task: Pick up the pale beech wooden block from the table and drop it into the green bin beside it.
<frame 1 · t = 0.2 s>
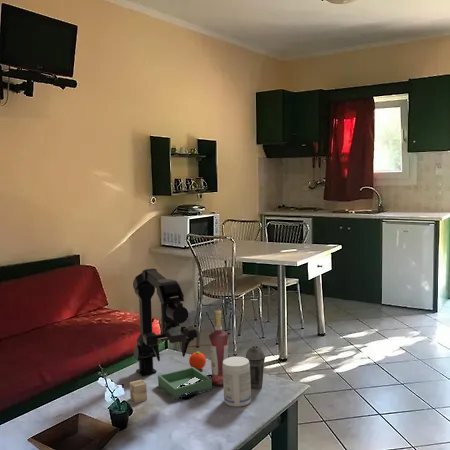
hand: (171, 358, 184), 14 cm above the table, tool pointing down, fingers open, 9 cm apart
green bin: (184, 387, 193), on the table
clementine: (198, 369, 212), on the table
beverage cup: (256, 387, 192), on the table
liquor: (220, 383, 196), on the table
supplement tub: (237, 402, 180), on the table
beech block: (138, 399, 185), on the table
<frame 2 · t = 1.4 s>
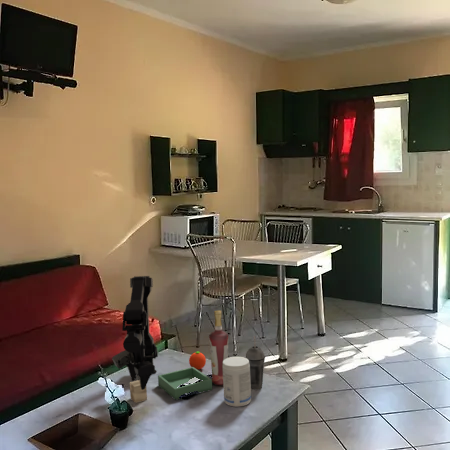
hand: (138, 384, 184), 5 cm above the table, tool pointing down, fingers open, 9 cm apart
nothing on the table moved.
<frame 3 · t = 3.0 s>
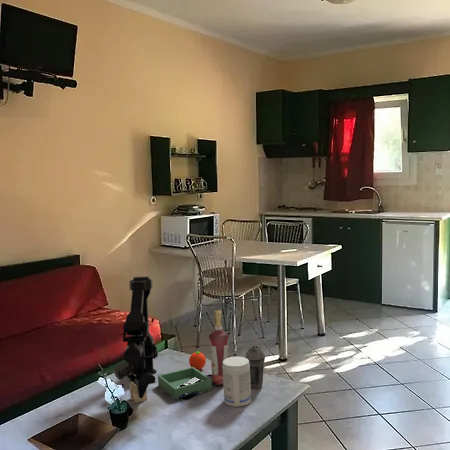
hand: (138, 395, 185), 1 cm above the table, tool pointing down, fingers closed on beech block, 4 cm apart
beech block: (138, 398, 185), on the table, touching gripper
everything else where it was.
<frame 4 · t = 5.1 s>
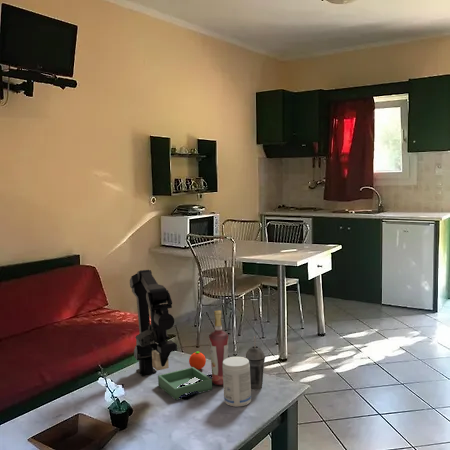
hand: (160, 363, 188), 11 cm above the table, tool pointing down, fingers closed on beech block, 4 cm apart
beech block: (160, 367, 188), point 10 cm above the table, touching gripper
everything else where it was.
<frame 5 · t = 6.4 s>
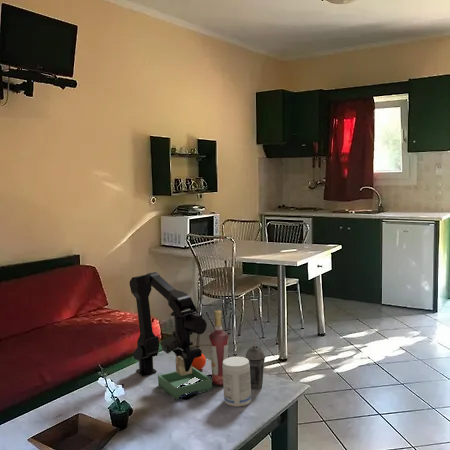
hand: (184, 369, 192), 7 cm above the table, tool pointing down, fingers closed on beech block, 4 cm apart
beech block: (184, 372, 193), point 6 cm above the table, touching gripper
everything else where it was.
when the fingers open (5 cm above the table, at t = 7.5 s): beech block drops 3 cm, resting on green bin.
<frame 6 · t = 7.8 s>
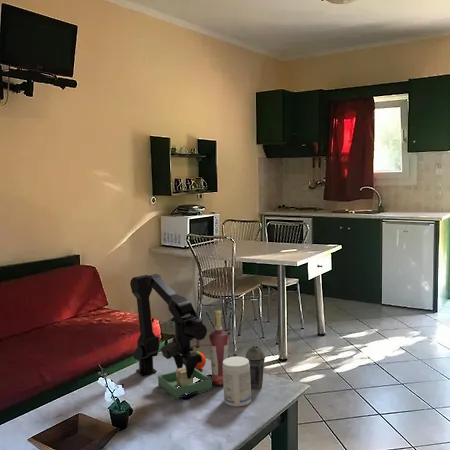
hand: (184, 374, 193), 5 cm above the table, tool pointing down, fingers open, 7 cm apart
beech block: (184, 385, 193), point 1 cm above the table, touching green bin
everything else where it was.
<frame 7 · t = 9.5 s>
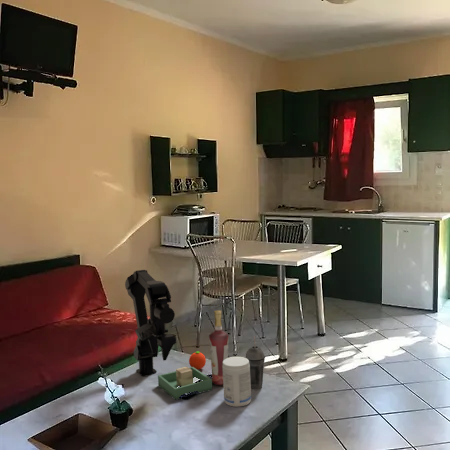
hand: (159, 356, 194), 12 cm above the table, tool pointing down, fingers open, 9 cm apart
nothing on the table moved.
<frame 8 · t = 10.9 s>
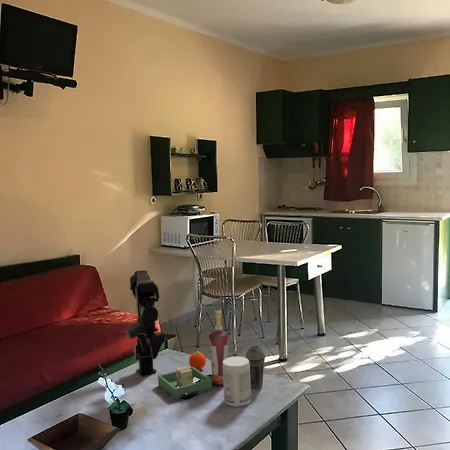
hand: (149, 355, 194), 12 cm above the table, tool pointing down, fingers open, 9 cm apart
nothing on the table moved.
at the end: beech block inside the target area on the green bin (0.0 cm from its centre), point 1.0 cm above the green bin's base; the gripper is holding nothing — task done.
